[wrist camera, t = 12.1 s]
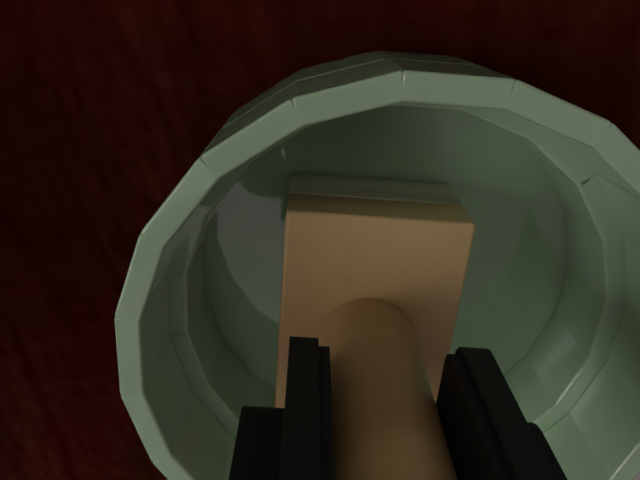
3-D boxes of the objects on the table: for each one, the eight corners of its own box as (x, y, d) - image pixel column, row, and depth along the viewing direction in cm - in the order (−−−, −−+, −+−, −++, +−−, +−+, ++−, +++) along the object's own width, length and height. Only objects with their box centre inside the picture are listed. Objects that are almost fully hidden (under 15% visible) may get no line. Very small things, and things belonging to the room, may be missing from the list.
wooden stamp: (290, 171, 14) (234, 604, 4) (448, 183, 14) (760, 624, 4) (278, 368, 16) (226, 933, 7) (413, 376, 16) (560, 938, 7)
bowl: (169, 32, 13) (91, 45, 9) (644, 69, 14) (811, 102, 9) (180, 418, 18) (132, 563, 13) (537, 438, 18) (613, 585, 14)
